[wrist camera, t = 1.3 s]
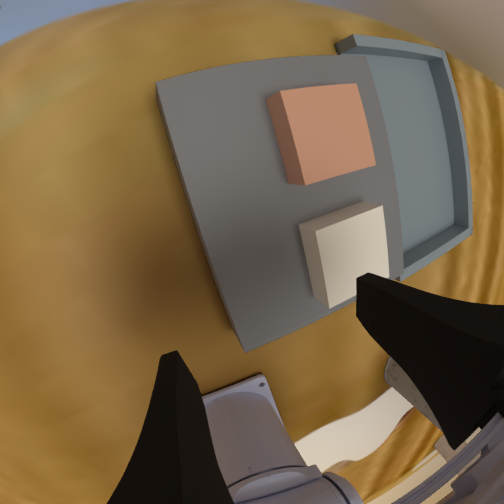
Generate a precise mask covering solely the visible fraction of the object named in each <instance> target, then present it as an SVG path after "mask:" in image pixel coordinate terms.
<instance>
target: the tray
mask: <svg viewBox="0 0 504 504" xmlns="http://www.w3.org/2000/svg"><path fill="white" fill-rule="evenodd" d="M334 45H335V48H336V50H337V53H338V55H355V56H366V59H367V62H368V65H369V68H370V71H371V74H372V77H373V81H374V84H375V87H376V91H377V94H378V98H379V102H380V106H381V110H382V114H383V118H384V122H385V126H386V131H387V135H388V140H389V145H390V150H391V155H392V161H393V167H394V173H395V179H396V186H397V193H398V201H399V210H400V219H401V230H402V243H403V262H404V274H402V275H400V276H399V277H397V278H395V279H396V280H398V281H400V282H401V281H402V280H404V279H406V278H407V277H409V276H410V275H412V274H414V273H415V272H417V271H418V270H420V269H422V268H423V267H425V266H426V265H428V264H429V263H431V262H432V261H434V260H435V259H437V258H439V257H440V256H442V255H443V254H444V253H446V252H447V251H449V250H450V249H452V248H453V247H455V246H456V245H458V244H459V243H460V242H462V241H463V240H465V239H466V238H467V237H469V236H470V235H471V234H472V230H473V216H472V189H471V175H470V165H469V156H468V148H467V141H466V135H465V129H464V123H463V118H462V113H461V109H460V104H459V100H458V96H457V92H456V88H455V84H454V80H453V77H452V73H451V70H450V67H449V63H448V60H447V57H446V54H445V51H444V50H441V49H437V48H434V47H429V46H425V45H421V44H416V43H411V42H406V41H401V40H395V39H388V38H382V37H374V36H365V35H355V34H352V35H351V36H349V37H347V38H345V39H343V40H341V41H340V42H338V43H336V44H334Z"/></svg>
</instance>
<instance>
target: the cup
mask: <svg viewBox="0 0 504 504" xmlns="http://www.w3.org/2000/svg"><path fill="white" fill-rule="evenodd" d="M466 445H467V443H465V442H463V443H462V444H461V445H460V446H459V447H458V448H457V449H456V450H455V451H454V450H453V449H452V448H451V447H450V446H449V444H448V442H447V440H446V437H445V435H444V434H443V435H442V436H441V437H440V438H439V439H438V440H437V441H436V443H435V444H434V447H435V448H436V450H437V451H438V452H439V453H440V454H441V455H442V457H443V458H444V459H445V460H446V461H447V462H448V461H450V460H451V459H452V458H453V457H454V456H455V455H456V454H458V453H459V452H460V451H461V450H462V449H463V448H464V447H465V446H466ZM480 456H481V453H480V452H479V453H478V454H477V455H476V456H475V457H474V458H473V459H472V460H471V461H470V462H469V463H468V464H467V465H466V466H465V467H464V468H463V469H462V470H461V471H459V472H458V473H457V474H458V475H460V474H461V473H462V472H463V471H464V470H466V469H467V468H468V467H469V466H470V465H471V464H473V463H474V462H475V461H476V460H477V459H479V458H480Z"/></svg>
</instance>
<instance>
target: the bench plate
mask: <svg viewBox="0 0 504 504" xmlns="http://www.w3.org/2000/svg"><path fill="white" fill-rule="evenodd" d="M353 83H356V84H357V87H358V90H359V94H360V98H361V101H362V105H363V109H364V112H365V116H366V120H367V125H368V129H369V133H370V138H371V142H372V147H373V152H374V157H375V162H376V165H374V166H371V167H367V168H364V169H360V170H356V171H353V172H349V173H346V174H342V175H339V176H335V177H332V178H329V179H325V180H322V181H319V182H315V183H312V184H309V185H297V184H289V183H288V179H287V175H286V171H285V168H284V164H283V160H282V156H281V152H280V149H279V145H278V141H277V138H276V134H275V130H274V127H273V123H272V120H271V116H270V113H269V109H268V106H267V103H266V99H268V98H269V97H271V96H272V95H274V94H276V93H277V92H279V91H283V90H290V89H297V88H305V87H314V86H325V85H337V84H353ZM156 98H157V102H158V105H159V109H160V113H161V116H162V120H163V123H164V127H165V130H166V134H167V137H168V140H169V144H170V147H171V151H172V154H173V157H174V160H175V164H176V167H177V170H178V173H179V177H180V180H181V183H182V186H183V189H184V192H185V196H186V199H187V202H188V205H189V208H190V211H191V214H192V217H193V220H194V223H195V226H196V229H197V232H198V235H199V238H200V241H201V243H202V246H203V249H204V252H205V255H206V258H207V261H208V263H209V266H210V269H211V272H212V275H213V277H214V280H215V283H216V286H217V288H218V291H219V294H220V296H221V299H222V302H223V305H224V307H225V310H226V312H227V315H228V318H229V320H230V323H231V326H232V328H233V331H234V333H235V335H236V337H237V338H238V340H239V342H240V344H241V346H242V348H243V350H244V352H245V353H246V352H248V351H251V350H253V349H256V348H258V347H260V346H263V345H265V344H267V343H269V342H272V341H274V340H276V339H278V338H281V337H283V336H285V335H287V334H289V333H292V332H294V331H296V330H298V329H300V328H302V327H304V326H306V325H309V324H311V323H313V322H315V321H317V320H319V319H321V318H323V317H325V316H327V315H329V314H331V313H333V312H335V311H337V310H339V309H341V308H343V307H345V306H346V305H348V304H350V303H352V302H354V301H356V295H355V296H353V297H352V298H350V299H348V300H346V301H344V302H342V303H340V304H338V305H336V306H334V307H332V308H330V309H329V308H328V307H327V306H325V305H324V304H323V303H322V302H320V301H319V300H318V299H317V298H315V297H314V295H313V290H312V285H311V280H310V275H309V270H308V266H307V261H306V256H305V252H304V247H303V243H302V238H301V234H300V229H299V225H298V224H301V223H304V222H307V221H309V220H312V219H315V218H318V217H320V216H323V215H326V214H329V213H331V212H334V211H337V210H340V209H342V208H345V207H348V206H351V205H354V204H356V203H359V202H362V201H364V202H369V203H374V204H379V205H383V212H384V220H385V229H386V239H387V250H388V263H389V277H388V278H387V279H390V280H394V279H395V278H397V277H399V276H400V275H402V274H404V262H403V243H402V230H401V219H400V210H399V201H398V193H397V186H396V179H395V173H394V167H393V161H392V155H391V150H390V145H389V140H388V135H387V131H386V126H385V122H384V118H383V114H382V110H381V106H380V102H379V98H378V94H377V91H376V87H375V84H374V81H373V77H372V74H371V71H370V68H369V65H368V62H367V59H366V56H355V55H318V56H297V57H284V58H274V59H265V60H257V61H249V62H243V63H236V64H230V65H225V66H219V67H214V68H209V69H205V70H200V71H196V72H192V73H187V74H183V75H180V76H176V77H172V78H168V79H165V80H161V81H158V82H156Z"/></svg>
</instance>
